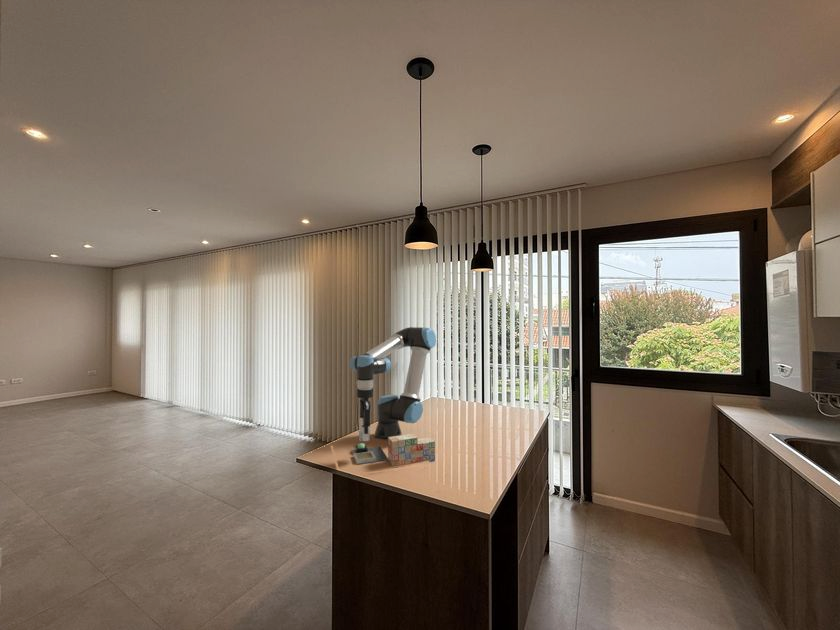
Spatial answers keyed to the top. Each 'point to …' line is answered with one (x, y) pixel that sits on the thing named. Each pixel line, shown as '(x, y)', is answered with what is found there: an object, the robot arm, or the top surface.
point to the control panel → (368, 455)
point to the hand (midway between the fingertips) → (364, 438)
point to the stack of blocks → (410, 449)
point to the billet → (362, 430)
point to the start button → (360, 445)
